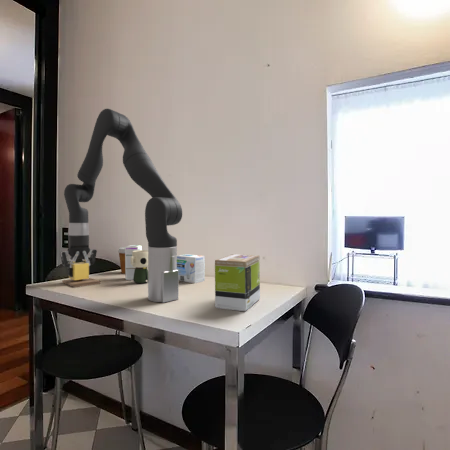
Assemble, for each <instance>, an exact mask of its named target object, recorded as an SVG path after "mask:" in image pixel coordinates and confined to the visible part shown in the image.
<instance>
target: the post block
mask: <svg viewBox="0 0 450 450" xmlns="http://www.w3.org/2000/svg"><path fill="white" fill-rule="evenodd" d="M62 282H63V283H62V284H64V283H66V284H65V285H67V284H68V285H67V286H69V285H70V287H72V286H73V287H72V288H74V287H75V288H80V286H81V287H86V286H93V285H94V286H95V285H99V284H101V281H100V280H98V279H94V278H91V277H89V278H88V279H81V280H72V279H63V280H62Z"/></svg>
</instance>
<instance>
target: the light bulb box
mask: <svg viewBox="0 0 450 450" xmlns="http://www.w3.org/2000/svg"><path fill="white" fill-rule="evenodd" d="M205 259H206V258H205V255H199V254H198V255H197V254H188V253H187V254H186V253H184V254H179V255H178V254H177V270H178V272H179V273H178V282H186V283H191V284H199V283H201V282H205V276H206V275H205V272H206V269H205V267H206V266H205V263H206V262H205V261H206V260H205Z"/></svg>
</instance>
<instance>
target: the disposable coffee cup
mask: <svg viewBox="0 0 450 450" xmlns="http://www.w3.org/2000/svg"><path fill="white" fill-rule="evenodd" d="M125 247H126V246H124V247H123V246H122V247H119V248H118V250H117V252H118V257H119V264H120V271H121V274H122V275H125Z"/></svg>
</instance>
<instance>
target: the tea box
mask: <svg viewBox="0 0 450 450" xmlns="http://www.w3.org/2000/svg"><path fill="white" fill-rule="evenodd" d="M260 263H261V262H260V255H255V254H236V253H235V254H230V255H226V256H223V257H220V258H217V259H214V305H215V308H216V309H221V310H222V309H223V310H230V311H232V310H233V311H237V312H239V311H240V312H247V310H248V309H250V308H251V307H252V306H254V305H255V303H257V302H258V301H259V300H260V299H261V287H260V286H261V282H260V281H261V277H260V276H261V275H260V273H261V272H260V266H261V265H260Z"/></svg>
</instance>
